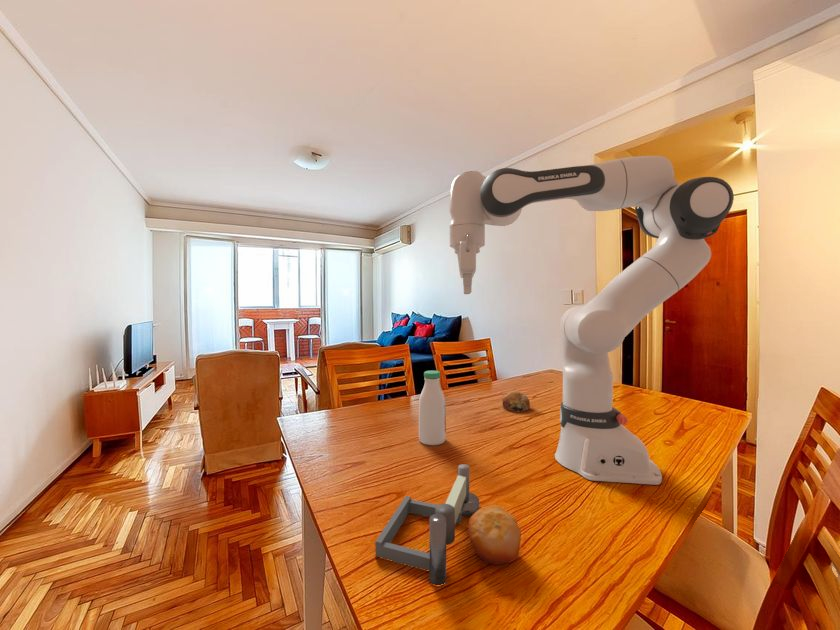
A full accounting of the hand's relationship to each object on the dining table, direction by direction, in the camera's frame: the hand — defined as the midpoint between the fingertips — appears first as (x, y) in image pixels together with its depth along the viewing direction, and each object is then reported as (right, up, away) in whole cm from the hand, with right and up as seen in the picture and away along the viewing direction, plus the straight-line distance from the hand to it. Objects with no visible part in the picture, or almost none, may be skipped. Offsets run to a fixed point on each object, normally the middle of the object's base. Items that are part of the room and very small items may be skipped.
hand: (467, 293), depth 86 cm
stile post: (-10, -44, -37) cm, 58 cm away
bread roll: (+24, -41, +40) cm, 62 cm away
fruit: (0, -44, -33) cm, 54 cm away
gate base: (-4, -43, -20) cm, 48 cm away
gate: (-6, -41, -27) cm, 50 cm away
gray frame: (-12, -43, -29) cm, 53 cm away
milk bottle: (-9, -42, +11) cm, 44 cm away
